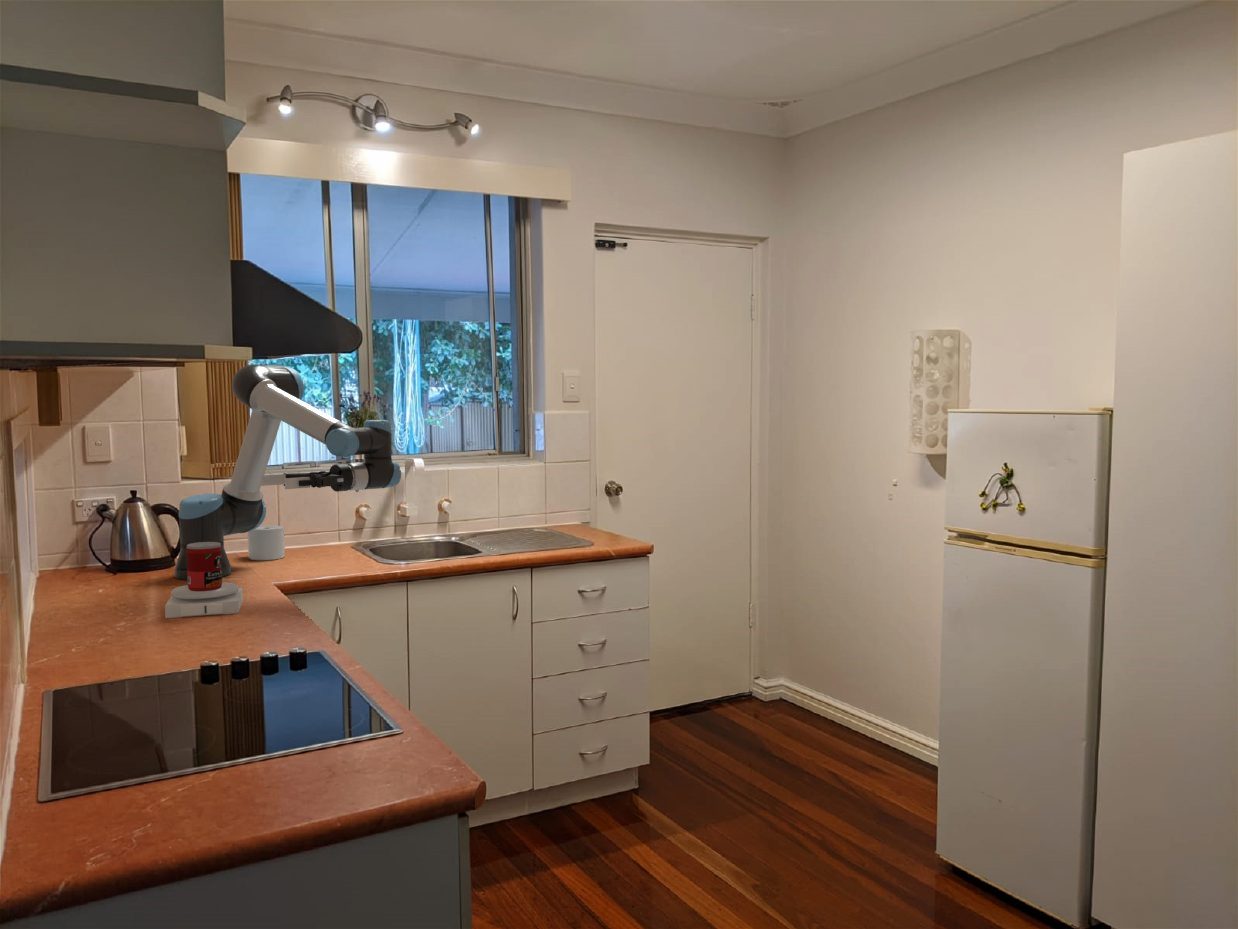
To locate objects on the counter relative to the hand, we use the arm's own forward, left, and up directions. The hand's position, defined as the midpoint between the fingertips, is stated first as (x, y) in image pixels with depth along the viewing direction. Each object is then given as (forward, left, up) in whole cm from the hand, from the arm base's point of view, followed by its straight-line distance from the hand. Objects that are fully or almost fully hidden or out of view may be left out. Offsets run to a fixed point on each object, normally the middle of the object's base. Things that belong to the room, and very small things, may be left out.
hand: (273, 482), depth 240 cm
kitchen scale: (+10, -16, -30) cm, 35 cm away
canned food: (+10, -16, -25) cm, 31 cm away
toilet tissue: (-63, -5, -30) cm, 71 cm away
